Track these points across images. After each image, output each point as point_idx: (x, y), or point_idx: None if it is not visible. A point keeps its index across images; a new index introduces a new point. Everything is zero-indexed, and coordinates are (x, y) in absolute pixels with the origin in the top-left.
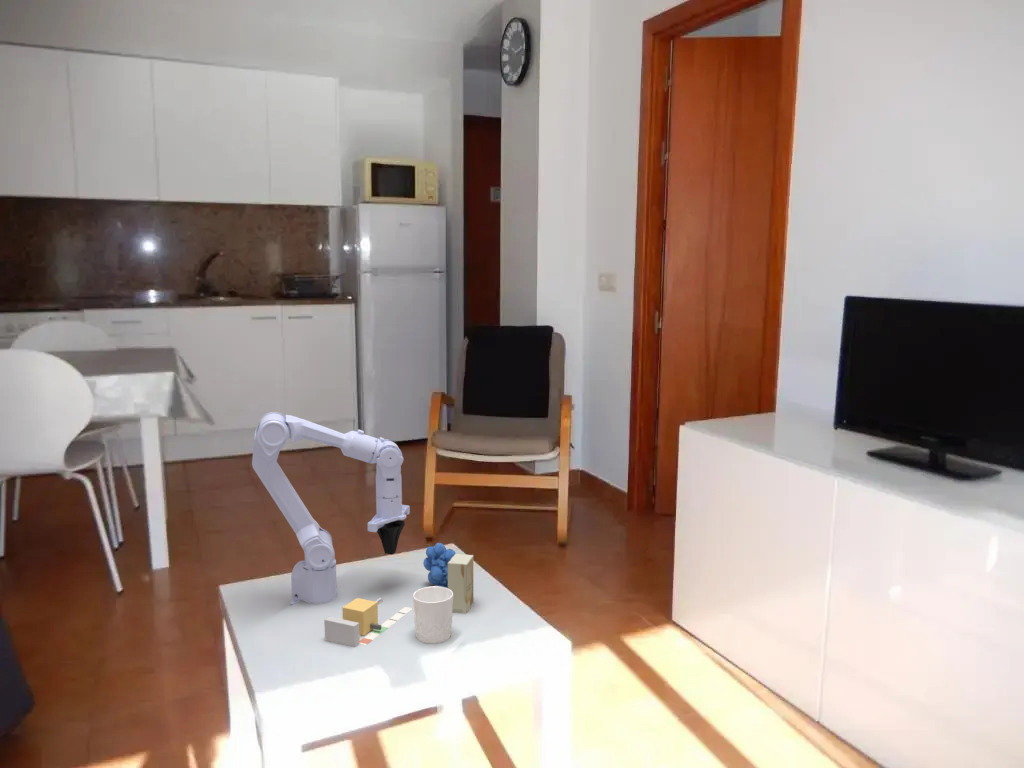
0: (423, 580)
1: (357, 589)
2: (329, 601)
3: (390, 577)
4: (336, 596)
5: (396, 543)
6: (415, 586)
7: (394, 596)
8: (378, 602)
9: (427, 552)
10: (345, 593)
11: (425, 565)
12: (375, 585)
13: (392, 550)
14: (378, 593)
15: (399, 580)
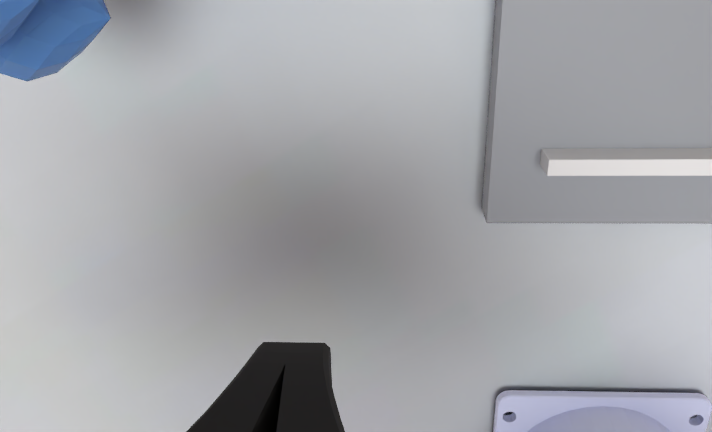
0: (24, 117)
1: (356, 396)
2: (644, 426)
3: (115, 326)
4: (575, 427)
5: (247, 403)
6: (139, 115)
7: (348, 158)
8: (603, 154)
9: (5, 4)
10: (431, 422)
11: (99, 11)
12: (260, 342)
13: (327, 370)
14: (352, 270)
15: (120, 258)
